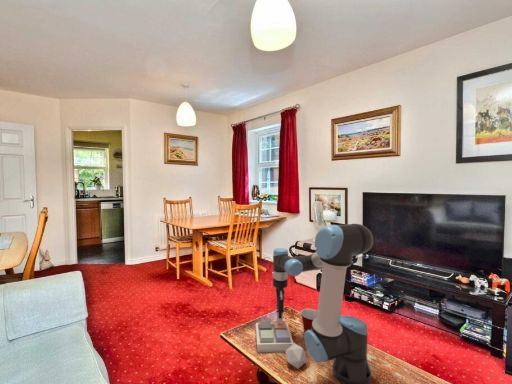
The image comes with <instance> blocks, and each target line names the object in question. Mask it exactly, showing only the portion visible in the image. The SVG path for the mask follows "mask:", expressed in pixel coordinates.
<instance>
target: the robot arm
mask: <svg viewBox="0 0 512 384" xmlns="http://www.w3.org/2000/svg"><path fill="white" fill-rule="evenodd" d="M373 245H374V236H373V233H372V231H371V230H370V229H369V228H368V227H367V226H365V225H363V224H360V223H347V224H346V223H345V224H330V225H325V226H323V227H321V228H320V229H319V230H318V231H317V233H316V235H315V238H314V248H315V252H313V253H312V254H308V255H300V256H291V255H289V251H288V249H287V248H283V247H278V248H276V247H275V248H274V249H273V254H272V268H273V269H272V270H273V272H271V274H272V278H273V279H272V286H273V287H274V288H275V292H276V293H275V294H276V321H277V324H283V321H284V319H283V318H284V317H283V316H284V315H283V314H284V305H285V289H286V288H287V287H288V286H289V285H288V281H289V280H288V277H289V276H290V275H291V276H292V277H297V276H299V275H300V274H302V273H305V272H310V271H319V270H321V279H320V285H319V287H320V288H319V293H318V304H317V310H316V311H317V318H315V319H314V320H313V321H312V328H311V330H308V331H306V332H305V333H304V336H303V337H304V338H303V339H304V344H305V348H306V350H307V352H308V354H309V356H310V357H311V358H312V360H313V361H315V362H316V363H323V362H325V363H326V362H329V361H332V360H334V361H333V364H332V373H333V374H332V375H334V377H335V379H336V380H338V381H339V382H340V383H342V384H370V383H371V381H372V370H371V369H370V364H369V362H368V335H369V333H368V325H367V323H366V322H365V321H363V320H362V319H360V318H358V317H355V316H352V315H346V314H345V315H344V314H343V315H342V312H341V311H342V306H343V305H342V304H343V299H344V298H343V297H344V290H345V282H346V281H345V280H346V275H347V268H349V267H350V266H351V265H352V263H353V257H354V256H355V257H357V256H359V255H363V254H365V253H367V252H369V251H370V250H371V249H372V247H373ZM288 275H289V276H288Z"/></svg>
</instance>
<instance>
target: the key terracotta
mask: <svg viewBox="0 0 512 384" xmlns="http://www.w3.org/2000/svg"><path fill="white" fill-rule="evenodd" d="M272 323H273V326H274V331H275V330H287V327H286V324H285V323H286V321H285V320H283V324H277V320H273V322H272Z"/></svg>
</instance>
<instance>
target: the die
mask: <svg viewBox="0 0 512 384" xmlns="http://www.w3.org/2000/svg"><path fill="white" fill-rule="evenodd" d="M293 343H294V344H293V345H291V346H290V347H289V348H288V349H287V350H286V351H285V352H284V353H285V354H286V355H285V356H286V360H287V363H288V364H289V365H292V366H293V367H294V368H295V369H297V370H299V369H300V368H301V367H302V366H303V365H304V364H305V363H307V361H308V359H307V355H306V352H305V350H304V348H303V347H301V346H300V345H299V344H296V343H295V342H293Z"/></svg>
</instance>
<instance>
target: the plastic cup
mask: <svg viewBox="0 0 512 384" xmlns="http://www.w3.org/2000/svg"><path fill="white" fill-rule="evenodd" d="M317 311H318V310H317V309H316V310H315V309H314V308H304V309H302V310H301V311H300V315H301V321H302V327H303V331H304V332H303V333H304V334H305V332H306V331H308V330H311V328H312V321H313V320H314V319H315V318H317Z"/></svg>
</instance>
